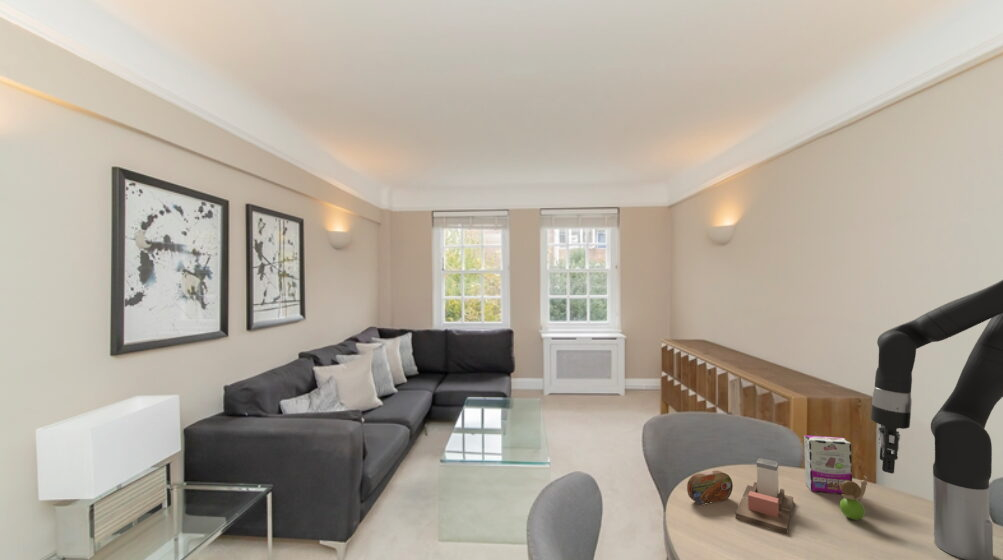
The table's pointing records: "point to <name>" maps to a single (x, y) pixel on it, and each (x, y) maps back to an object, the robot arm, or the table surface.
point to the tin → (709, 487)
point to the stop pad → (763, 504)
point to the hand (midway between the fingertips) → (886, 466)
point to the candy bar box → (827, 463)
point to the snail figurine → (853, 499)
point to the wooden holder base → (764, 519)
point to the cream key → (767, 477)
